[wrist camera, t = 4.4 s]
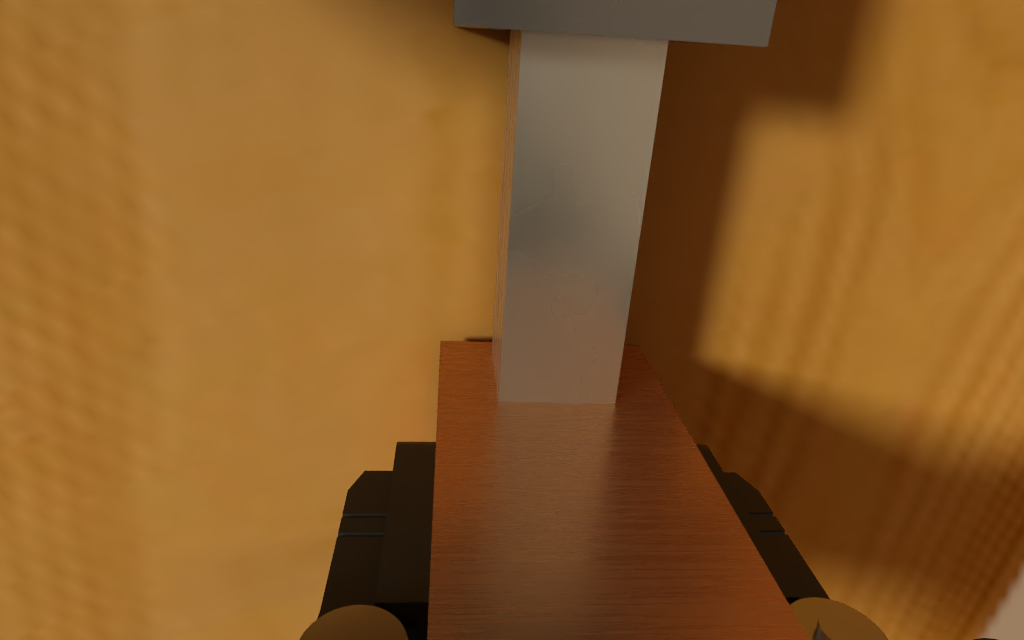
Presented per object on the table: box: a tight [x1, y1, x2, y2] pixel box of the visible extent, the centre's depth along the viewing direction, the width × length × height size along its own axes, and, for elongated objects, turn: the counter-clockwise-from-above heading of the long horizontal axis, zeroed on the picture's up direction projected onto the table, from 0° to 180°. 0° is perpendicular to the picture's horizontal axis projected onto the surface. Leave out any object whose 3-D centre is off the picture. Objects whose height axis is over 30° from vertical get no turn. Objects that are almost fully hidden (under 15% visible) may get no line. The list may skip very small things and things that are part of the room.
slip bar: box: [427, 29, 810, 640], centre depth 9 cm, size 18×4×9 cm, turn 176°
